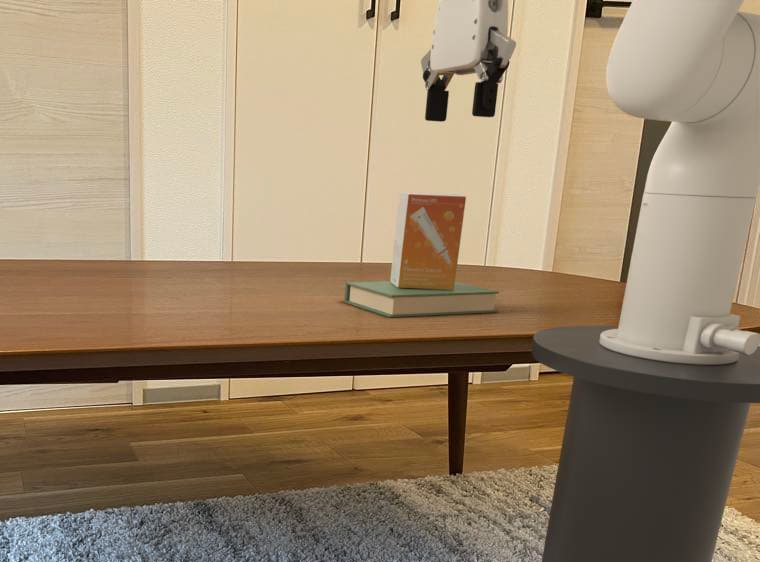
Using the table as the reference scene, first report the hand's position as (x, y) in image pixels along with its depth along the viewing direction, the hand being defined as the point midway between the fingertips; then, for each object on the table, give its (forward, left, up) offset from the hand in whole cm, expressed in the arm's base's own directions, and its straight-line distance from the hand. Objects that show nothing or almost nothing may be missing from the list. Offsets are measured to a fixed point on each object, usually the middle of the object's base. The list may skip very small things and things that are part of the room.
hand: (458, 118), depth 104 cm
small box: (+2, +1, -23) cm, 23 cm away
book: (+2, +1, -26) cm, 26 cm away
